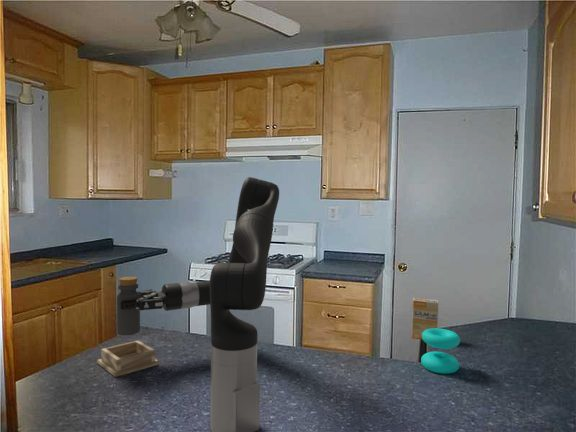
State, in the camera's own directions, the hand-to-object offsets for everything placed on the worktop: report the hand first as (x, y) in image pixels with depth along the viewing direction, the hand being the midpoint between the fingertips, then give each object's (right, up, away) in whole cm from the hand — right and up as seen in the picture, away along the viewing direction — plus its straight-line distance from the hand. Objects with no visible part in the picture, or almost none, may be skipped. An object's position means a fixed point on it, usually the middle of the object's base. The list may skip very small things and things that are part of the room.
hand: (118, 302), depth 113 cm
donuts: (+88, -19, +3) cm, 90 cm away
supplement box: (+92, -18, +28) cm, 97 cm away
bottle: (+2, -9, +2) cm, 9 cm away
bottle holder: (+2, -17, +2) cm, 17 cm away
